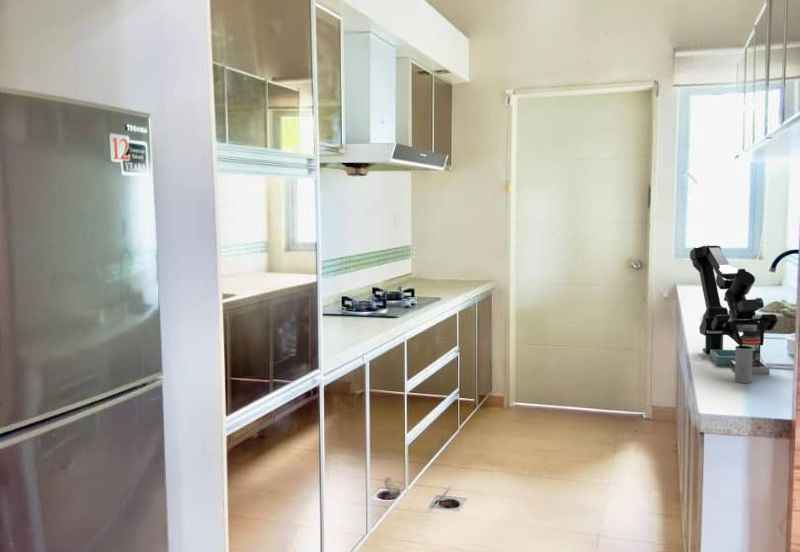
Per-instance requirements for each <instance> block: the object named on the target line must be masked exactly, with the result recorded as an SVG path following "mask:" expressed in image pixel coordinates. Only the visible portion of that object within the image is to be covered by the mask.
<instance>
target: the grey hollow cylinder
mask: <svg viewBox="0 0 800 552" xmlns="http://www.w3.org/2000/svg"><path fill="white" fill-rule="evenodd" d="M734 350H735V371H734V381H735V383H740V384H751V383H752V382H753V381H752V380H753V374H752V350H753V348H752V347H750V346H739V345H737V346H735V348H734Z"/></svg>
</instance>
